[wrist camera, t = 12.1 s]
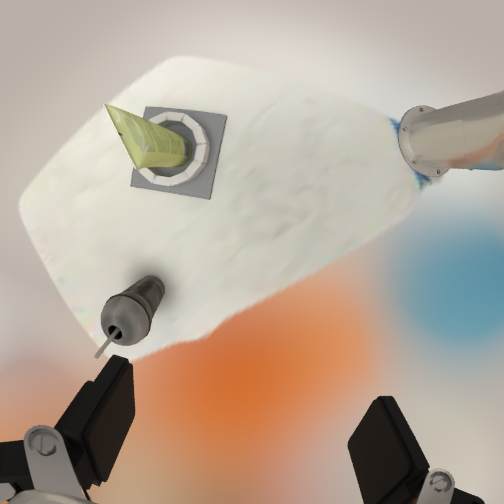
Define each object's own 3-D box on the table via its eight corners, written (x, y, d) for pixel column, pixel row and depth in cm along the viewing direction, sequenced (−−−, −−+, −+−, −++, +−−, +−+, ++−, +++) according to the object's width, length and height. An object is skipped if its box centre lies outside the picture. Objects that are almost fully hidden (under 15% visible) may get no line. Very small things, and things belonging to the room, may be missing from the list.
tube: (153, 161, 41) (85, 155, 22) (163, 130, 40) (102, 102, 21) (186, 172, 41) (135, 169, 22) (197, 140, 40) (154, 113, 21)
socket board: (226, 116, 40) (223, 109, 35) (210, 199, 43) (204, 201, 39) (147, 107, 40) (136, 100, 35) (132, 186, 43) (119, 187, 38)
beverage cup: (180, 286, 47) (138, 354, 28) (157, 315, 48) (113, 386, 29) (146, 259, 46) (86, 311, 27) (126, 289, 47) (66, 348, 28)
